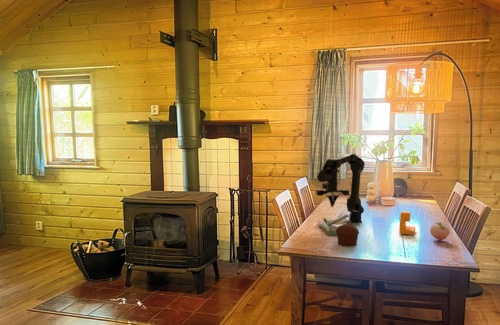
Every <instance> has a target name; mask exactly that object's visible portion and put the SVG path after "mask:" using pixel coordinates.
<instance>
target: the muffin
mask: <svg viewBox="0 0 500 325" xmlns="http://www.w3.org/2000/svg"><path fill="white" fill-rule="evenodd" d="M336 233H337V236H336V238H337V244H338V245H339V246H342V247H344V248H345V247H347V248H351V247H352V248H353V247H356V246H357V243H358V238H359V237H358V236H359V234H360V231H359V229H358V228H357V227H356V226H355V225H353V224H352V225H350V224H344V225H341V226H339V227H338V228H337V229H336Z"/></svg>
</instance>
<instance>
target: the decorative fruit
mask: <svg viewBox="0 0 500 325" xmlns="http://www.w3.org/2000/svg"><path fill="white" fill-rule="evenodd" d="M429 230H430V231H429V232H430V235H431V236H432V237H433V238H435V239H437V240H438V241H439V242H440V241H444V240H446V239H447V238H448V237H449V235H450V233H451V232H450V228H448V227H447V226H446V225H444V224H442V222H441V221H439V222H436V223H435V224H432V225H431V227H430V229H429Z"/></svg>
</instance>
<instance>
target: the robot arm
mask: <svg viewBox="0 0 500 325" xmlns="http://www.w3.org/2000/svg"><path fill="white" fill-rule="evenodd" d="M346 163H348V165H349V169H350V171H351V172H352V174H351V184H350V185H351V186H350V191H349V190H348V189H347V188H340V189H339V190H338V184H339V182H338V173H340V170H339V169H340V167H342V165H344V164H346ZM364 168H365V161H364V160H363V159H362V158H361V157H359V156H358V155H357V154H355V153H353V152H349V153H346V154H344V155H342V156H339V157H336V158H333V157H332V158H327V159H326V161H325V162H324V165H323V167H322V169H321V170H319V171H320V172H318V174H317V180H318V182H320V183H322V184H321V189H315V195H316V196H318V197H319V196H320V197H321V196H324V195H325V197H326V198H327V199H328V201H329V205H330V207H331V208H333V207H334V205H335V203H336V201H337V199H338V198H339V197H340V195H343V196H349V195H350V196H349V197H347V199H346V208H347V212H349V214H348V216H349V217H348V221H349V222H350V223H352V224H355V223H363V221H362V214H363V213H364V211H365V208H364V207H363V206H362V200H361V198H360V185H361V184H360V183H361V174H362V172H363V170H364ZM325 182H326V183H325Z"/></svg>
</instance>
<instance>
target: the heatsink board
mask: <svg viewBox="0 0 500 325" xmlns="http://www.w3.org/2000/svg"><path fill="white" fill-rule="evenodd" d="M334 220H335V219H326V217H324V218H323V220H321V223H318V226H319V227H320V228H321V229H322V230H323V231H324V232H325V233H326V235H328V236H329V237H335V236H336V237H337V233H336V229H337V228H338V227H339V226H341V225H344V224H350V225H353V223H352V222H351V221H349V220H348V219H347V220H348V221H347V220H341V221H339V222H337V223H335V224H332V225H330V226H328V225H327V223H330V222H332V221H334Z"/></svg>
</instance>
